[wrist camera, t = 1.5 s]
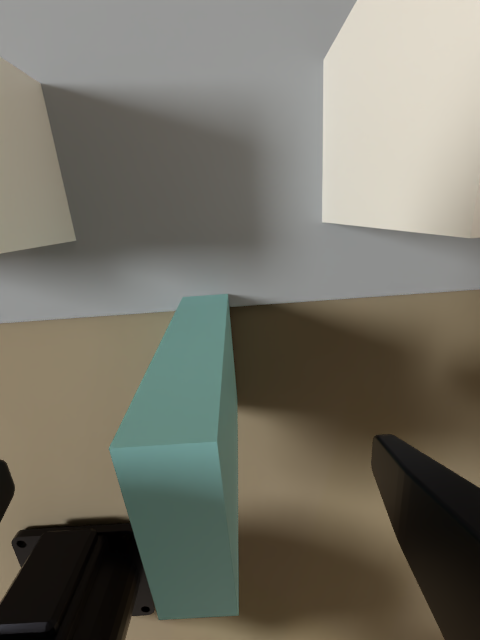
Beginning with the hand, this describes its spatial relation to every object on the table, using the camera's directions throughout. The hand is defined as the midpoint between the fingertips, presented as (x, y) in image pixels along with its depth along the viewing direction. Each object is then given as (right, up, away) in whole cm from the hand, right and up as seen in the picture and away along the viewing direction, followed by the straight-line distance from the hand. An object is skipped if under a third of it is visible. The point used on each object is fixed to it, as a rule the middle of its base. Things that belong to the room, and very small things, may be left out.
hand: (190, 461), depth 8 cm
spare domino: (0, +2, +6) cm, 6 cm away
